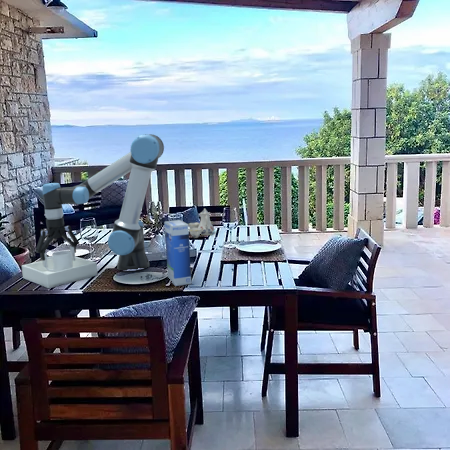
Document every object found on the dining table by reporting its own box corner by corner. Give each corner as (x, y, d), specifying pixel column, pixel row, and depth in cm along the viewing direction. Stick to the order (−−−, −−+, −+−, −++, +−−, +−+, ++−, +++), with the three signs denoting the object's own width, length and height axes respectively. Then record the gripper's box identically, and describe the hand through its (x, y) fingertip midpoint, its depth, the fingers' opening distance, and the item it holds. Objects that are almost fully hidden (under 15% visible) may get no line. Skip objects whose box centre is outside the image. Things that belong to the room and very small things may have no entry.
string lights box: (191, 284, 209) (189, 224, 204) (174, 286, 206) (171, 226, 201) (183, 275, 221) (180, 219, 216) (166, 278, 219) (163, 221, 214)
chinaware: (186, 233, 321) (182, 208, 317) (211, 228, 323) (207, 204, 320) (191, 242, 294) (187, 215, 290) (218, 237, 296) (215, 210, 293)
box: (97, 275, 227) (96, 262, 226) (48, 288, 210) (47, 274, 208) (70, 266, 243) (69, 254, 242) (23, 278, 226) (21, 265, 225)
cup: (73, 275, 223) (71, 254, 221) (45, 278, 220) (42, 256, 218) (73, 270, 231) (71, 249, 229) (46, 273, 228) (44, 252, 226)
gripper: (75, 212, 232) (79, 256, 236) (23, 221, 215) (29, 268, 219) (83, 214, 227) (88, 258, 231) (31, 223, 210) (37, 271, 214)
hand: (59, 263), depth 225 cm, fingers open, 13 cm apart
